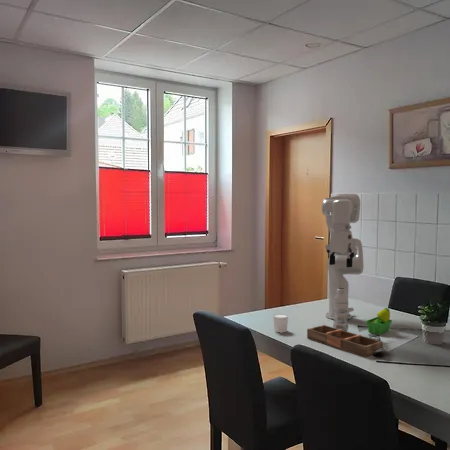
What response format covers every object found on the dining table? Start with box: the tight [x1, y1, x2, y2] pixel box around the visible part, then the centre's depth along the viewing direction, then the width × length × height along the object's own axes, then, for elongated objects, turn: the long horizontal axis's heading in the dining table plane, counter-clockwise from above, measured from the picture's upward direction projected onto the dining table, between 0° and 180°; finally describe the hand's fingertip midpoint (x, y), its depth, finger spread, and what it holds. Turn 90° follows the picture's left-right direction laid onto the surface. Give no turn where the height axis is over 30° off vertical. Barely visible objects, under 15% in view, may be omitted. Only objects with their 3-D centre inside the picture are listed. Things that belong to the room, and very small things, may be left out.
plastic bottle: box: [332, 288, 349, 332], centre depth 207 cm, size 6×7×20 cm
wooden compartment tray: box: [306, 324, 384, 358], centre depth 190 cm, size 11×30×4 cm, turn 36°
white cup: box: [272, 313, 289, 334], centre depth 210 cm, size 7×7×7 cm
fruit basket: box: [365, 307, 393, 335], centre depth 208 cm, size 11×9×11 cm
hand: (340, 265), depth 206 cm, fingers open, 9 cm apart
